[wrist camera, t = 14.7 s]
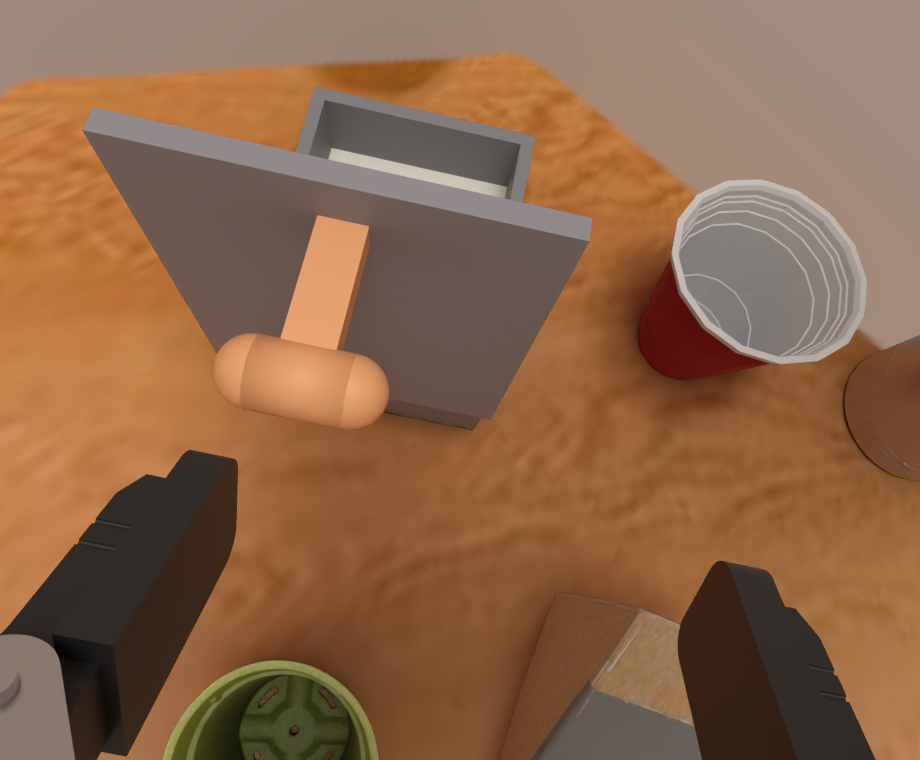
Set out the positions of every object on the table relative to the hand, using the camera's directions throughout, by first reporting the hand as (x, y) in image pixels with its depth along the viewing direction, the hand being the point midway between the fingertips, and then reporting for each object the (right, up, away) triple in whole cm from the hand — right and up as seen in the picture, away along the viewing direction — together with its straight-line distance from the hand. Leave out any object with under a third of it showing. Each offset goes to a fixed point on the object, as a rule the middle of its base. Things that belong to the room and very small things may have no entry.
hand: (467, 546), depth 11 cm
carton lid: (-4, +6, +16) cm, 18 cm away
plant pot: (-9, -17, +27) cm, 33 cm away
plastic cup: (+15, +6, +35) cm, 38 cm away
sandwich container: (+7, -19, +28) cm, 34 cm away
